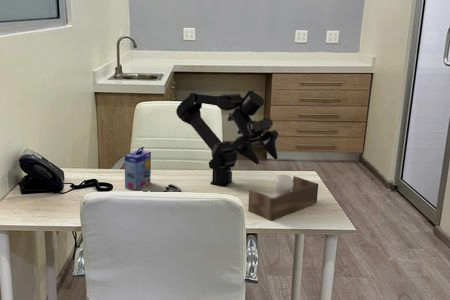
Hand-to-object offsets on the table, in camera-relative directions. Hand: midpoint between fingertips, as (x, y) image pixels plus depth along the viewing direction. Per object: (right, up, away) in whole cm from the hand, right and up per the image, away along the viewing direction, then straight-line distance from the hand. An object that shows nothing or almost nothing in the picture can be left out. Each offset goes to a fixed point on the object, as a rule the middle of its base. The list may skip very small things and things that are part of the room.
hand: (267, 161), depth 151 cm
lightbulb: (+5, -15, -2) cm, 16 cm away
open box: (+5, -15, -2) cm, 16 cm away
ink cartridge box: (-46, -9, +14) cm, 49 cm away
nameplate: (-35, -14, 0) cm, 37 cm away
